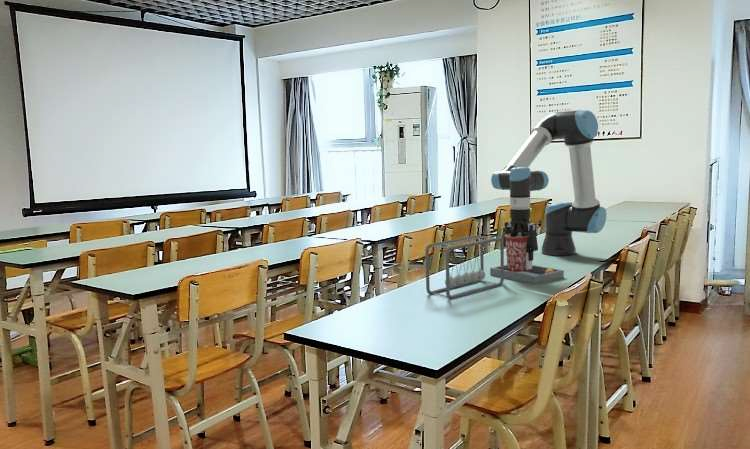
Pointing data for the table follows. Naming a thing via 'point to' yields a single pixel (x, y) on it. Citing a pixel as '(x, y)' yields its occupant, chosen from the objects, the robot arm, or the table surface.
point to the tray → (529, 274)
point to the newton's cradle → (465, 278)
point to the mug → (516, 252)
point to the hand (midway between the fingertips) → (520, 267)
